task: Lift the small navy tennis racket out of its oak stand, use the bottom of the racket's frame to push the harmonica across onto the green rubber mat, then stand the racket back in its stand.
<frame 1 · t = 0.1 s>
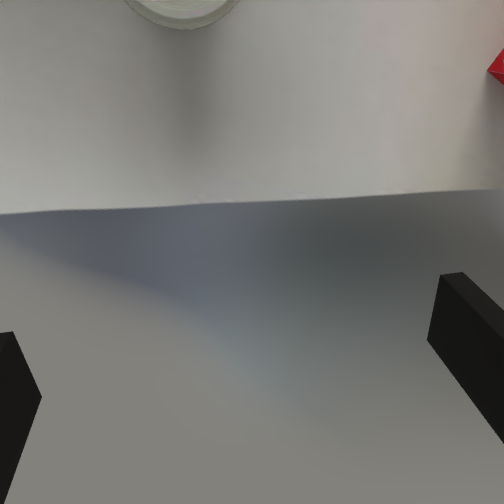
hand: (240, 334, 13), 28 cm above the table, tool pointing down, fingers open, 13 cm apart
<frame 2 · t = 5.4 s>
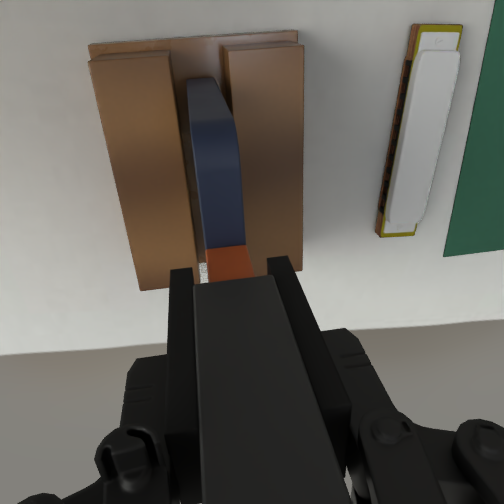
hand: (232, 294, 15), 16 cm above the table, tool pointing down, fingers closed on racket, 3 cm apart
harmonica: (408, 138, 31), on the table
racket: (209, 164, 28), point 1 cm above the table, touching gripper
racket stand: (208, 158, 29), on the table
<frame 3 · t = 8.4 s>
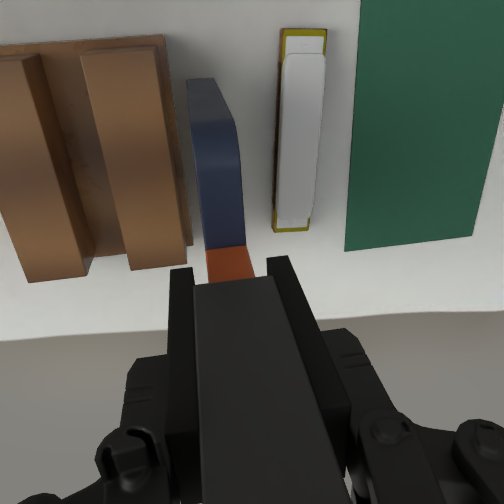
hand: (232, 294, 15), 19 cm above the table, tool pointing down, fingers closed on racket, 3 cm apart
harmonica: (294, 137, 32), on the table
racket: (209, 164, 28), point 4 cm above the table, touching gripper
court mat: (426, 125, 33), on the table
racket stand: (96, 156, 30), on the table
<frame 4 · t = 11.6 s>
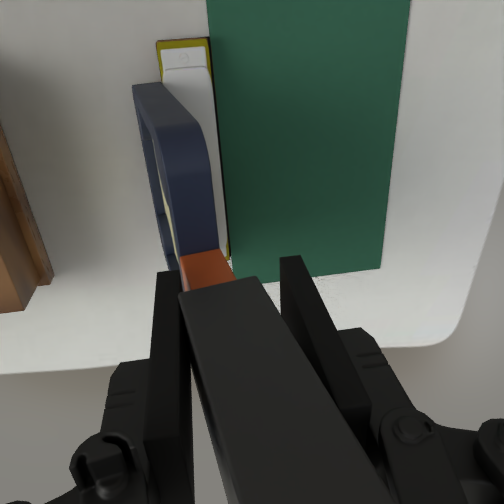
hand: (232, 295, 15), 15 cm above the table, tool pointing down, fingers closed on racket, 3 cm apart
harmonica: (198, 159, 28), on the table, touching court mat, racket
racket: (160, 170, 27), point 1 cm above the table, tilted 10°, touching gripper, harmonica
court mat: (309, 149, 29), on the table
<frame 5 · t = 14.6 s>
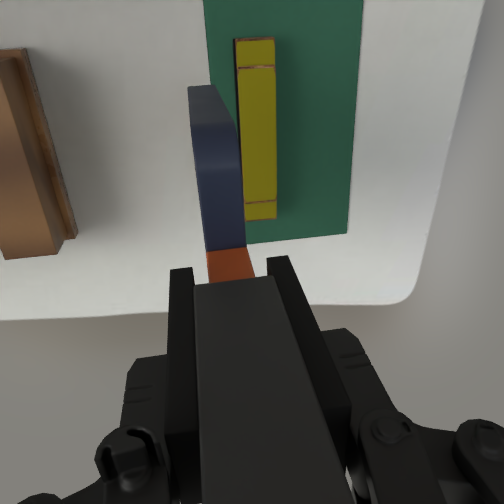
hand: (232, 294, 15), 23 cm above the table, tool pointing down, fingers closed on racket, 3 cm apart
harmonica: (258, 140, 34), point 2 cm above the table, touching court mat
racket: (210, 170, 28), point 8 cm above the table, touching gripper
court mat: (285, 130, 36), on the table
when the fingers open (16 cm above the table, at t = 18.8 s): racket stays where it is, resting on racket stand.
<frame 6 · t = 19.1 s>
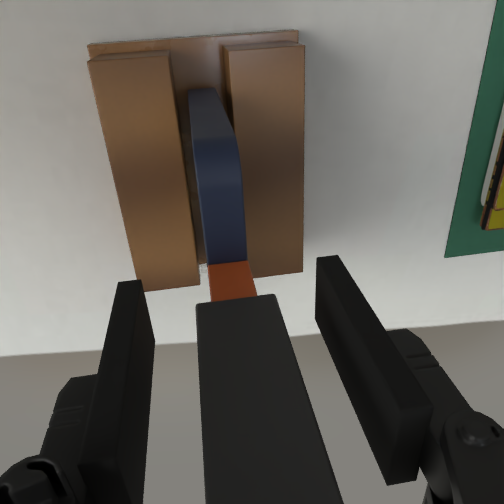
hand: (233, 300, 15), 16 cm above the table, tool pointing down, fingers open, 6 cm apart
racket: (210, 172, 28), point 1 cm above the table, touching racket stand
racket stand: (208, 159, 29), on the table
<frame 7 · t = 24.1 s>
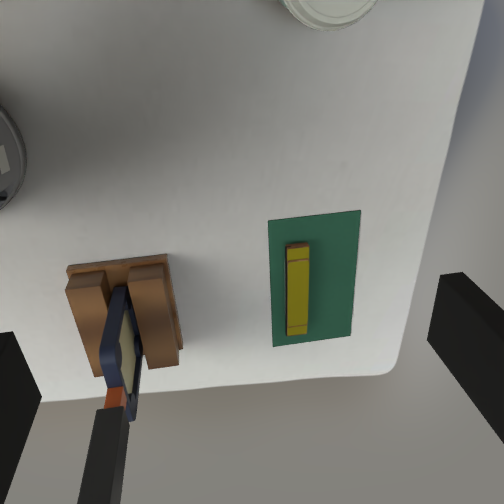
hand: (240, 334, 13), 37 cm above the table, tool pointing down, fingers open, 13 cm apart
harmonica: (297, 296, 57), point 2 cm above the table, touching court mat
racket: (129, 316, 56), point 1 cm above the table, touching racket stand
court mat: (313, 283, 59), on the table
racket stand: (130, 307, 56), on the table
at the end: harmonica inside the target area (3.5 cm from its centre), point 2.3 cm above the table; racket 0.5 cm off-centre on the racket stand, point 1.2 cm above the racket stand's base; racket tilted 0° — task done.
